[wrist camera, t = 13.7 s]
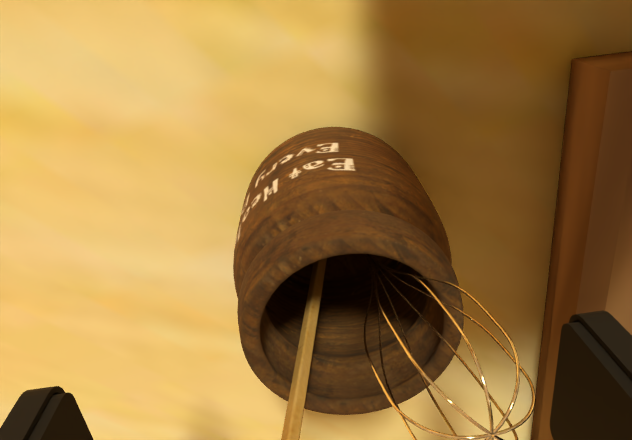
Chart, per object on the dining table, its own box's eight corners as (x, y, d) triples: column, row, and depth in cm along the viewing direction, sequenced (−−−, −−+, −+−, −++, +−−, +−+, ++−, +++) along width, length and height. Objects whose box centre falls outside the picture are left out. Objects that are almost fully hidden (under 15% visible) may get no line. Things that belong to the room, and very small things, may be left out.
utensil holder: (452, 190, 17) (714, 549, 7) (335, 308, 19) (387, 729, 9) (320, 80, 15) (384, 332, 5) (206, 223, 17) (68, 627, 7)
